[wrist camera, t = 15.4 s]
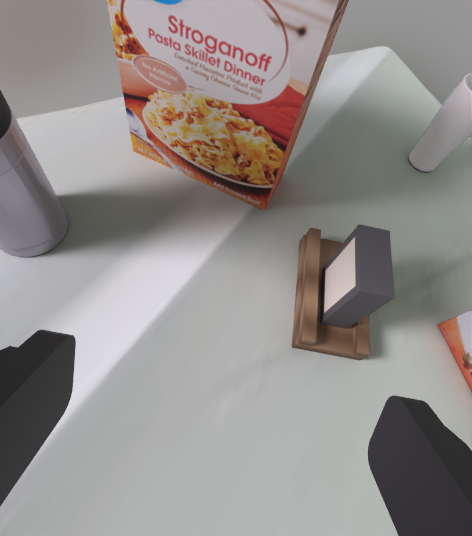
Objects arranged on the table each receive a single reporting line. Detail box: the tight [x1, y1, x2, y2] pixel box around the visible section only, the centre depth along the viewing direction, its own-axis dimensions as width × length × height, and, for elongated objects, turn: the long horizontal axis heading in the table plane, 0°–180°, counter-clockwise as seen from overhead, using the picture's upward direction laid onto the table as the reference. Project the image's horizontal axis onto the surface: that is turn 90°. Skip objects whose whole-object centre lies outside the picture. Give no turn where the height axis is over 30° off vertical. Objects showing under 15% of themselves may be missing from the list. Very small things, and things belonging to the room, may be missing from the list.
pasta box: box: [107, 0, 349, 210], centre depth 41 cm, size 23×8×30 cm, turn 66°
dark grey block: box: [320, 225, 394, 329], centre depth 40 cm, size 8×4×11 cm, turn 171°
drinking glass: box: [409, 73, 472, 172], centre depth 55 cm, size 7×7×15 cm
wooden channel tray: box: [292, 228, 370, 360], centre depth 45 cm, size 16×9×4 cm, turn 171°
